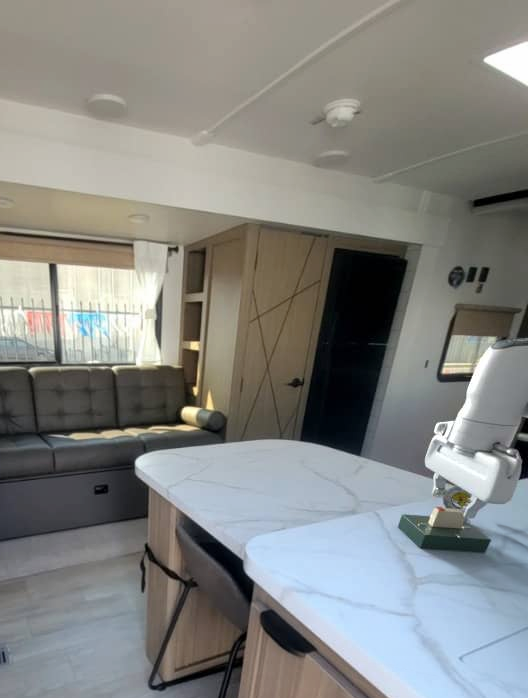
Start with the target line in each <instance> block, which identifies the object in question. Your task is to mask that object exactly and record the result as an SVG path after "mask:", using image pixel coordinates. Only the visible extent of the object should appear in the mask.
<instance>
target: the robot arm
mask: <svg viewBox="0 0 528 698" xmlns="http://www.w3.org/2000/svg"><path fill="white" fill-rule="evenodd" d="M522 418H527V419H528V337H515V338H514V337H513V338H506V339H501V340H498V341H496V342H494V343H492V344H490V346H489V347H488V348H487V349H486V350H485V352H484V353H483V355H482V356H481V358H480V359H479V361H478V363H477V366H476V367H475V370H474V371H473V374H472V376H471V379H470V381H469V384H468V387H467V390H466V396H465V402H464V403H463V406H462V407H461V408H460V409H459V411H458V412H457V416H456V418H455V420H449V421H441V422H437V423H436V424H435V426H434V429H433V433H434V434H435V435H433V437H432V439H431V440H430V443H429V445H428V449H427V451H426V455H425V456H424V457H425V458H424V465H425V468H426V469H428V470H430V471H432V472H433V473H434V474H433V489H432V491H431V495H432V496H434V498H436V499H437V498H439V499H443V497H444V496H445V494H446V492H447V491H448V489H446V483H447V481H448V482H449V483H452V484H453V485H455V486H458V487H460V488H462V489H463V490H465V491H467V492H468V493H470V494H472V496H471V498H469V500H471V501H470V502H471V503H468V504H467V505H468V506H463V507H462V511H461V512H460V514H461V515H462V516H464V517H465V518H467V519H475V518H476V516H477V514H478V512H479V511H480V510H481V509H483V508H484V507H485V506H486V505H488V504H491V505H492V504H494V505H505V504H507V503H509V502H510V501H511V500H512V498H513V496H514V494H515V491H516V489H517V486H518V483H519V480H520V477H521V473H522V464H523V459H522V458H521V455H520V451H518V449H515V448H512V447H511V445H512V443H513V440H514V438H515V436H516V433H517V431H518V429H519V428H520V425H521V423H522Z"/></svg>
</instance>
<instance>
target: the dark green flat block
mask: <svg viewBox="0 0 528 698" xmlns="http://www.w3.org/2000/svg"><path fill="white" fill-rule="evenodd" d="M430 517H431V514H430V515H420V514H419V515H417V514H406V513H405V514H404V513H403V514H401V516H400V519H399V522H398V525H397V528H398V529H399V530H400V531H401V532H402V533H403V534H405V535H406V537H407V538H408V539H409V540H411V541H412V543H414V544H415V545H416V547H418V548H419V549H426V550H436V551H437V550H439V551H450V552H451V551H452V552H465V553H477V554H478V553H479V554H486V552H487V550H488V548H489V546H490V544H491V541H492V538H490V537H488V536H487V535H486V534H484V533H482V532H481V531H480V530H478V529H477V528H476V527H474V526H473V525H472V524H471V523H470V524H469V523H467V522H466V521H464V523H463V526H462V528H461V529H458V528H444V527H432V526H431V525H430V524H429V523H428V522H429V519H430Z"/></svg>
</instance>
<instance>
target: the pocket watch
mask: <svg viewBox="0 0 528 698" xmlns="http://www.w3.org/2000/svg"><path fill="white" fill-rule="evenodd" d="M471 496H472V494H470V493H468V492H467V491H465V490H463V489H462V488H460V487H458V486H457V485H455V486H453V487H450V488H448V489H447V492H446V494H445V496H444V497H443V498H442V503H443V506H444V508H449V509H462V507H463V506H468V505H469V504H470V503H471V502H472V501H471V500H470V499H471ZM457 505H458V506H457ZM465 521H466V522H467V523H469V524H470V525H471V520H470V518H466V519H465Z"/></svg>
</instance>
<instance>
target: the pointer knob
mask: <svg viewBox="0 0 528 698" xmlns="http://www.w3.org/2000/svg"><path fill="white" fill-rule="evenodd" d="M461 511H462V509H449V508H446V507H442V506H435V507H433V509H432V512H431V514H430V515H431V517H430V519H429V522H428V523H429V524H430V525H431V526H432V527H444V528H458V529H461V528H462V526H463V523H464V521H465V519H466V518H465V517H464V516H462V515H461V514H460V512H461Z"/></svg>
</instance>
